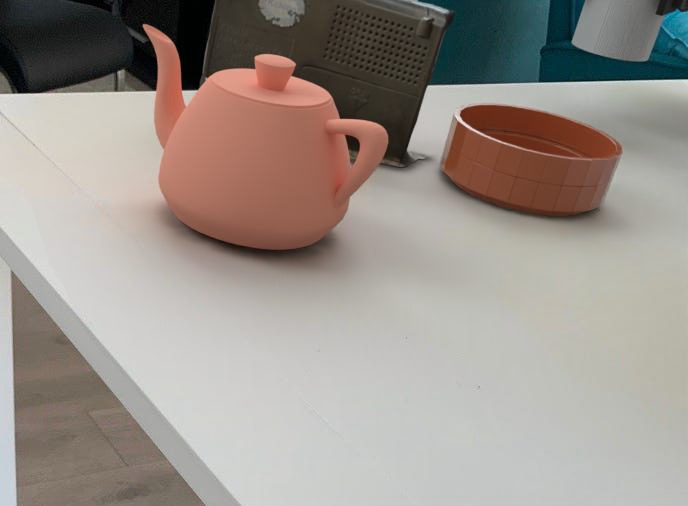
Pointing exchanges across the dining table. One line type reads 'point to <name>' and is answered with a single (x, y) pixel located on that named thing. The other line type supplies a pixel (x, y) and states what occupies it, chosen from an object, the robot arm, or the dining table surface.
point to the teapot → (257, 152)
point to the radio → (341, 54)
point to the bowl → (529, 159)
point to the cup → (618, 28)
